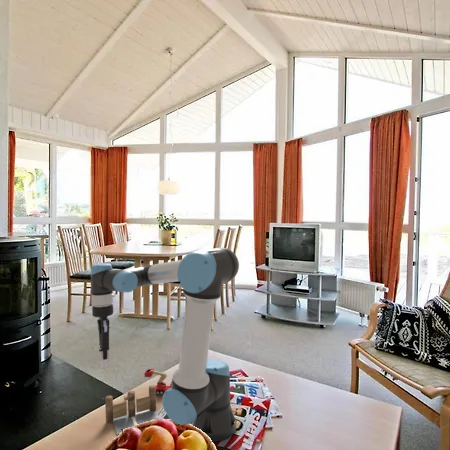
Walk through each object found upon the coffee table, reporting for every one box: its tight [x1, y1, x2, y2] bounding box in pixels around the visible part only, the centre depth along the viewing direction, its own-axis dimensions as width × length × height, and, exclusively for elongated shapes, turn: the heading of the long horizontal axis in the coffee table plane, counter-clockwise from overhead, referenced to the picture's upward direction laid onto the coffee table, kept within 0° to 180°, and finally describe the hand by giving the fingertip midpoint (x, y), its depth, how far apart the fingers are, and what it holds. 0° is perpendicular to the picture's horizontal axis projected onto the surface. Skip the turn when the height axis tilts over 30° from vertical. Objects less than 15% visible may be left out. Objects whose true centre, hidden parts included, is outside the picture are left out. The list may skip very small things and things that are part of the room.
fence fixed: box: [127, 384, 157, 417], centre depth 133 cm, size 3×11×9 cm, turn 116°
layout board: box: [112, 406, 158, 436], centre depth 130 cm, size 15×16×1 cm
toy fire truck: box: [144, 368, 172, 395], centre depth 149 cm, size 3×14×10 cm, turn 84°
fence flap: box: [104, 390, 136, 424], centre depth 129 cm, size 3×11×9 cm, turn 116°
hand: (104, 366), depth 133 cm, fingers closed
